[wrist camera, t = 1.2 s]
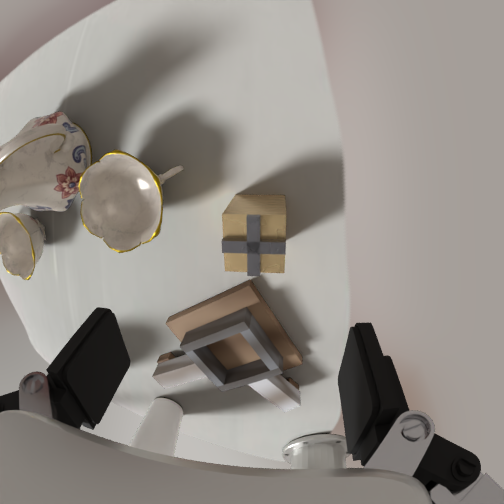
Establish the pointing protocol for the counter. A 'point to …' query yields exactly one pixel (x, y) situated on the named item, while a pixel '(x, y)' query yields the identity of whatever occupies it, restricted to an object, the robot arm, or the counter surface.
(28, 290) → the counter surface
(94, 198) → the chinaware
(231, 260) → the block
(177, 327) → the shaft rig
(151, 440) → the drinking glass
